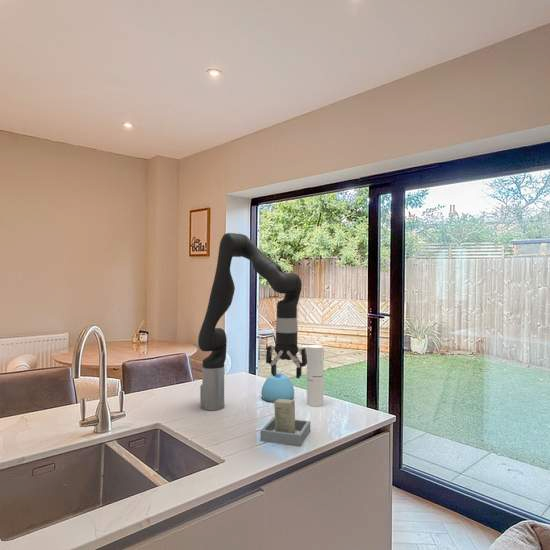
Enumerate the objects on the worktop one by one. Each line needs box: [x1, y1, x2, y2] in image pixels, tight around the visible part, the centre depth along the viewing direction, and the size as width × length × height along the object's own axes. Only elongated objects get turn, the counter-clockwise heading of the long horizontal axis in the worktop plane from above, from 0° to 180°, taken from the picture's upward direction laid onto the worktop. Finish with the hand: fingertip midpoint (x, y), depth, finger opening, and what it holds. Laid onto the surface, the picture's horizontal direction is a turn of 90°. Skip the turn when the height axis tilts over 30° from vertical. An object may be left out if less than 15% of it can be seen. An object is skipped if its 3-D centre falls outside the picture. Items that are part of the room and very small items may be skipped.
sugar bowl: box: [260, 371, 295, 403], centre depth 187 cm, size 15×15×12 cm
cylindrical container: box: [306, 344, 325, 407], centre depth 179 cm, size 7×7×25 cm
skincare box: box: [273, 399, 296, 434], centre depth 143 cm, size 6×4×12 cm
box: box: [259, 416, 311, 447], centre depth 143 cm, size 14×14×4 cm
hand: (286, 376), depth 143 cm, fingers open, 8 cm apart
